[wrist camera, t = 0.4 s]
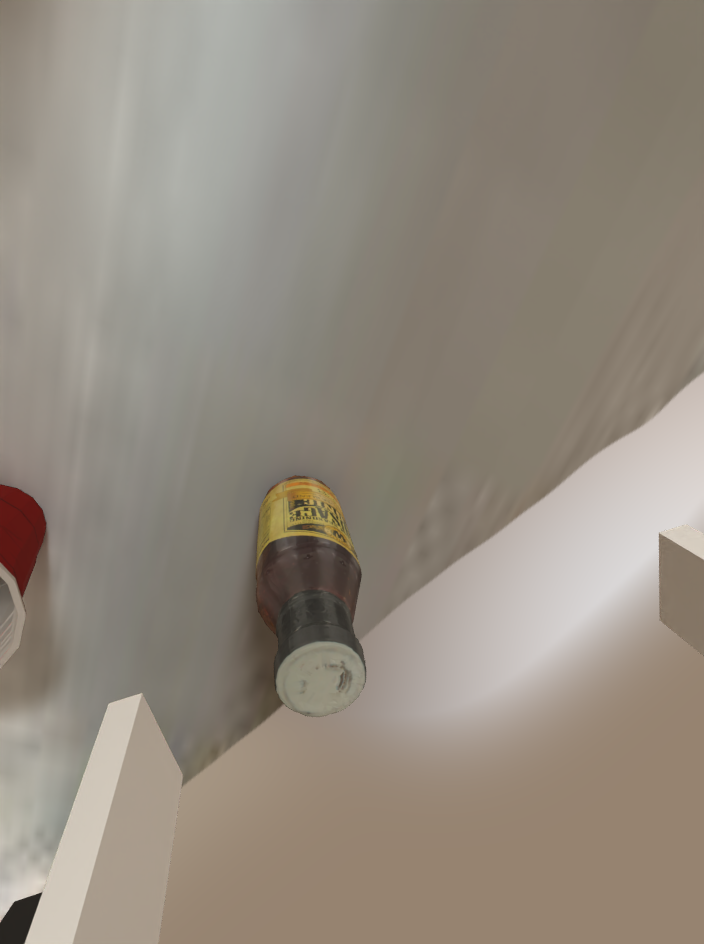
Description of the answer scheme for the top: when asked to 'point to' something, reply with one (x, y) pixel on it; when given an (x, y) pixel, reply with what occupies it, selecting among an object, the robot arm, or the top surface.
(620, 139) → the top surface
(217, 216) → the top surface
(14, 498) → the plastic cup
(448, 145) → the top surface
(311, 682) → the sauce bottle
